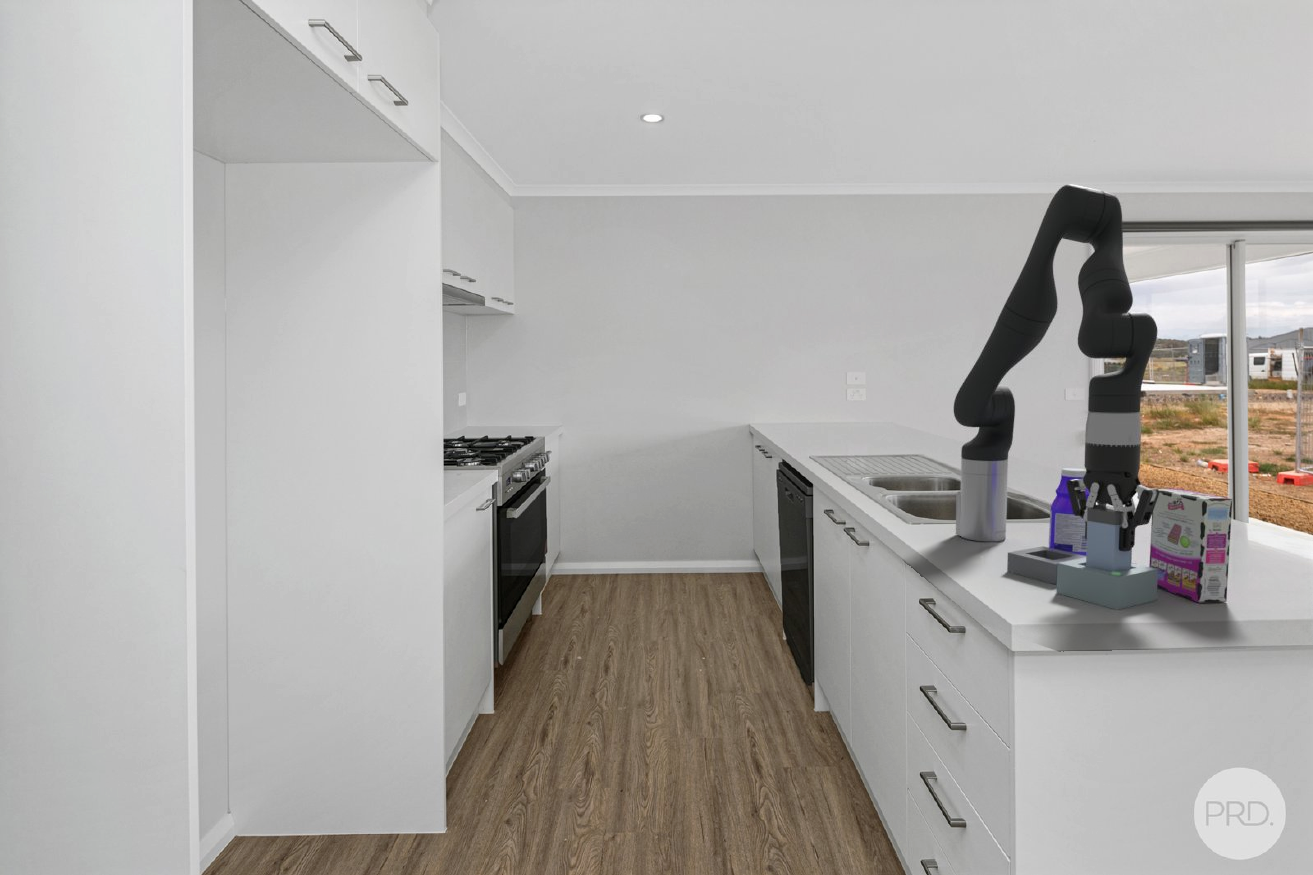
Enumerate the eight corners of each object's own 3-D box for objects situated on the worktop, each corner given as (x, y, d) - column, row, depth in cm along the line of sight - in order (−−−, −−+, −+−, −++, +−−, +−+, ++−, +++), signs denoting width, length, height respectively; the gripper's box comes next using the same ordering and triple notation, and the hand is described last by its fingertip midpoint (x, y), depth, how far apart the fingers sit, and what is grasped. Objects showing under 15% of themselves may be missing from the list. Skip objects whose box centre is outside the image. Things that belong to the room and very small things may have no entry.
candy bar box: (1229, 603, 118) (1235, 498, 116) (1199, 604, 117) (1204, 499, 116) (1174, 582, 129) (1179, 487, 127) (1146, 584, 128) (1151, 488, 127)
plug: (1086, 569, 122) (1087, 508, 121) (1103, 566, 124) (1104, 505, 123) (1113, 576, 118) (1115, 512, 117) (1131, 572, 120) (1132, 509, 119)
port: (1056, 592, 124) (1057, 560, 123) (1095, 584, 128) (1096, 553, 128) (1117, 609, 115) (1118, 574, 115) (1156, 600, 119) (1158, 566, 119)
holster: (1007, 571, 137) (1007, 552, 137) (1042, 564, 141) (1042, 546, 141) (1055, 584, 129) (1056, 564, 128) (1091, 576, 133) (1091, 557, 133)
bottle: (1088, 557, 147) (1091, 467, 145) (1094, 564, 141) (1098, 471, 140) (1046, 554, 149) (1049, 466, 148) (1051, 561, 144) (1054, 470, 142)
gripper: (1174, 442, 115) (1169, 554, 116) (1084, 436, 128) (1081, 536, 129) (1144, 445, 111) (1140, 560, 113) (1055, 438, 124) (1052, 541, 126)
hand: (1108, 546), depth 121 cm, fingers closed on plug, 4 cm apart
